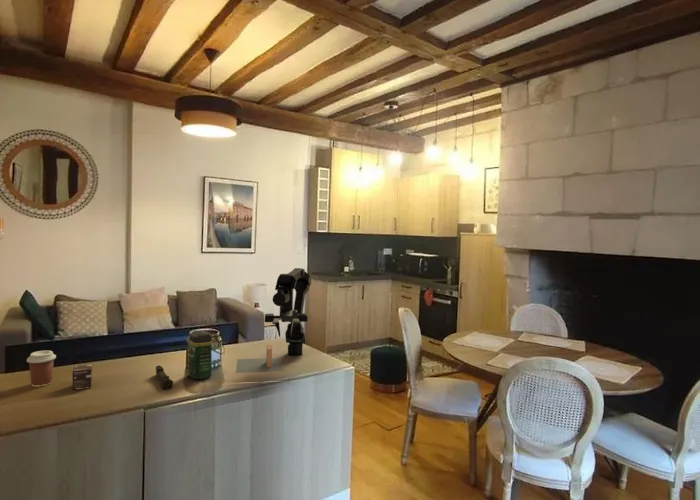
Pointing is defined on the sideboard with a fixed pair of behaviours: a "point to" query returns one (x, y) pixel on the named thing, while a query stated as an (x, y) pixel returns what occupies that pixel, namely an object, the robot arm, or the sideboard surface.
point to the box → (82, 376)
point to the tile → (268, 355)
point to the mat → (258, 365)
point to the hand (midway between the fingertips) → (285, 336)
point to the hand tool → (163, 378)
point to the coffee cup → (41, 367)
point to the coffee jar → (200, 355)
